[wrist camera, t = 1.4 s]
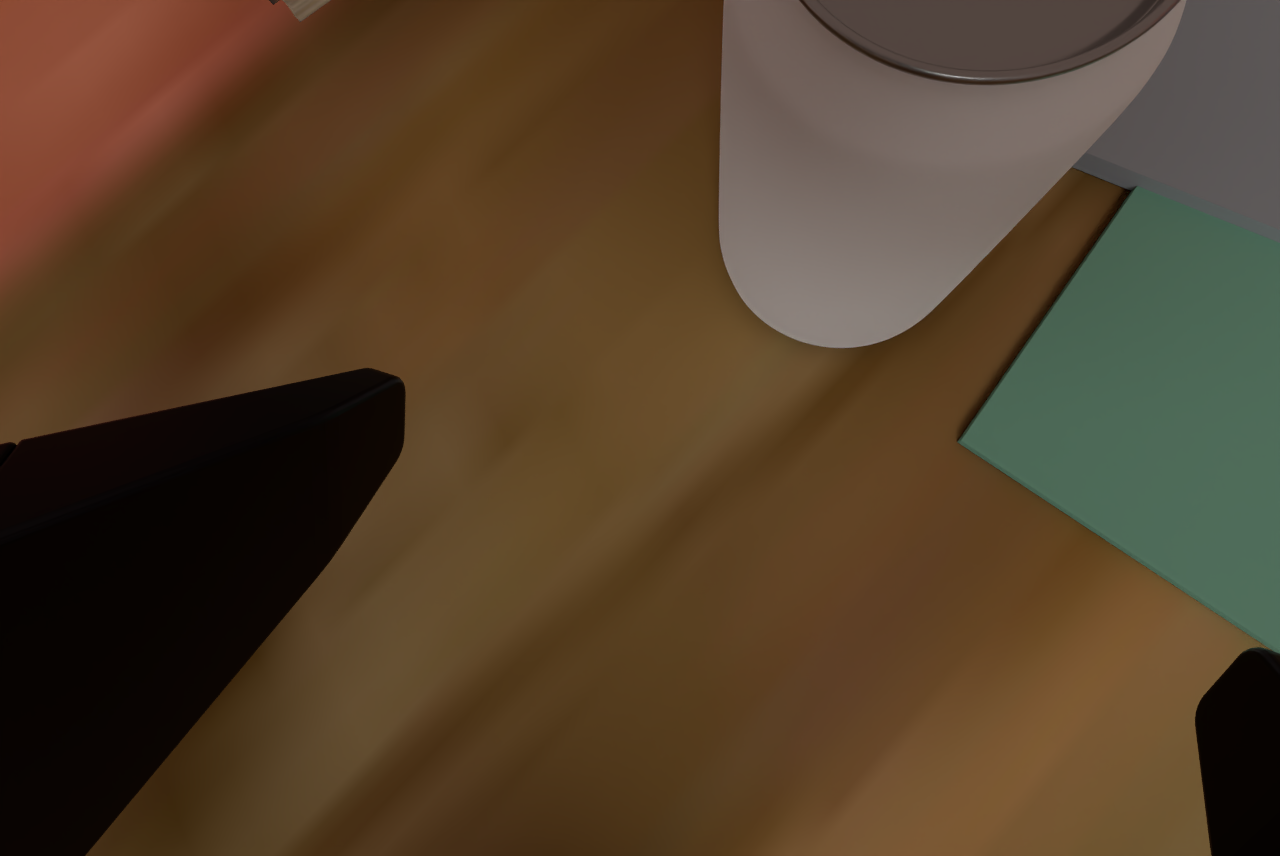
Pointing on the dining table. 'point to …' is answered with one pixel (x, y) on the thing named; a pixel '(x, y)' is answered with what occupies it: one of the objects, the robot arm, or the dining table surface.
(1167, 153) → the legend board
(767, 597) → the dining table surface
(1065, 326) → the pad
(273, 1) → the hardcover book
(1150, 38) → the can
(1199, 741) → the robot arm
